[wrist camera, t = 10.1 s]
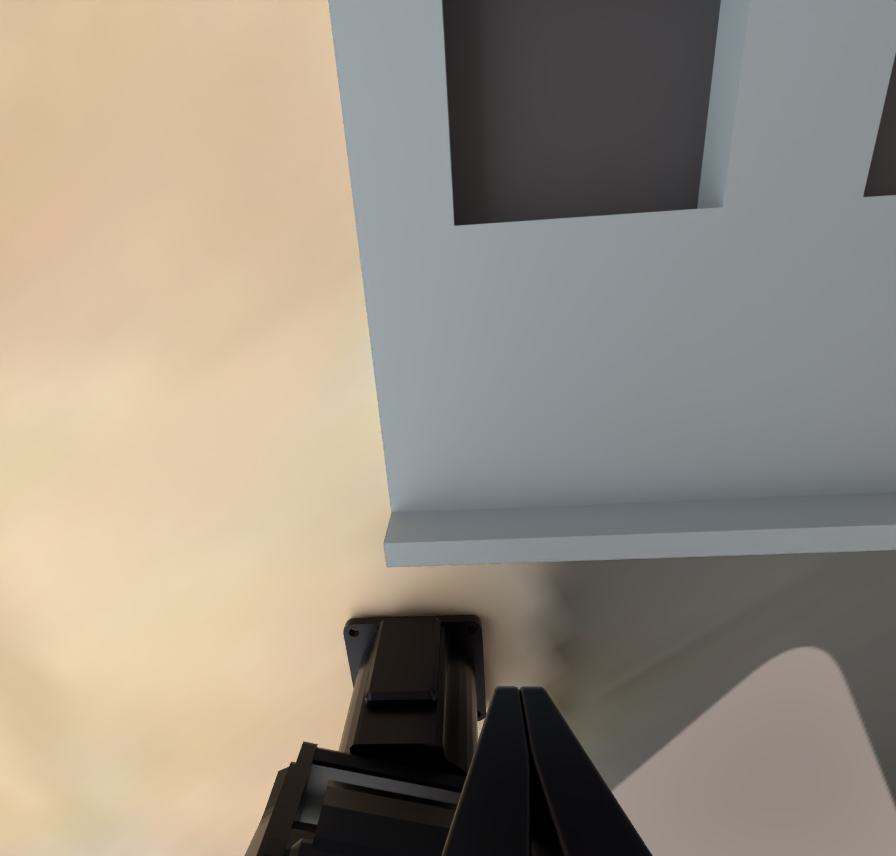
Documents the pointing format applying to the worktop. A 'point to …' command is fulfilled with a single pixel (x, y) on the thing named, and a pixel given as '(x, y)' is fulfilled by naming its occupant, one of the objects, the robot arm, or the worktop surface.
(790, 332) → the board
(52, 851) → the worktop surface
